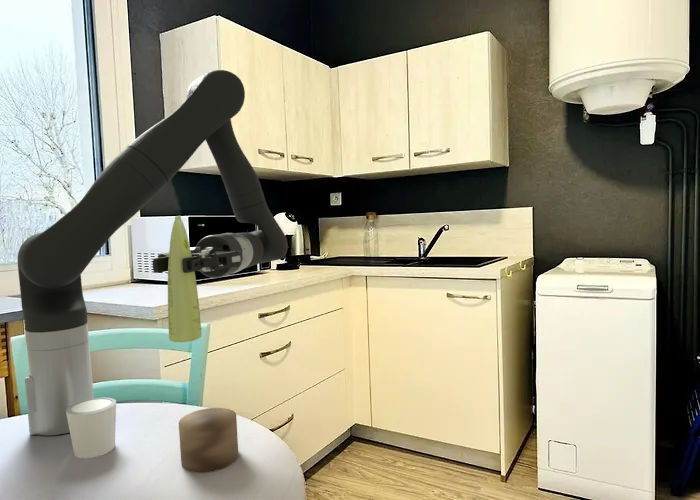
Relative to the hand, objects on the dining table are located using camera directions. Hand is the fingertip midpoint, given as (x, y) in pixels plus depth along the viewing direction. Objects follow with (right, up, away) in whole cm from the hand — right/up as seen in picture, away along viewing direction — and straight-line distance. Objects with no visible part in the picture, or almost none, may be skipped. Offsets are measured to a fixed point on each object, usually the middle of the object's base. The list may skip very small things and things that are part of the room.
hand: (170, 265), depth 77 cm
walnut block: (+7, -28, -3) cm, 29 cm away
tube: (+1, -12, +4) cm, 12 cm away
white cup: (-12, -28, +1) cm, 31 cm away
